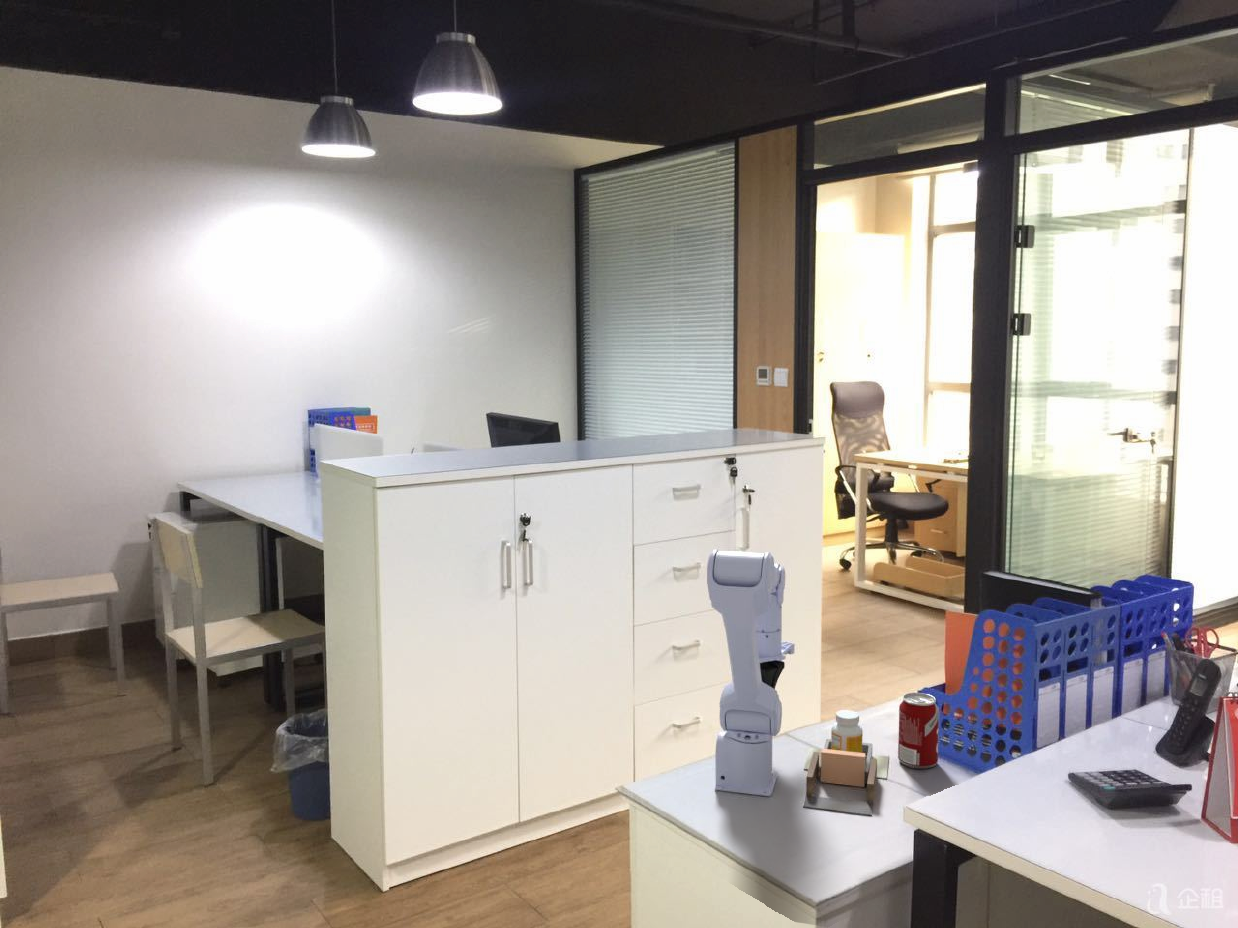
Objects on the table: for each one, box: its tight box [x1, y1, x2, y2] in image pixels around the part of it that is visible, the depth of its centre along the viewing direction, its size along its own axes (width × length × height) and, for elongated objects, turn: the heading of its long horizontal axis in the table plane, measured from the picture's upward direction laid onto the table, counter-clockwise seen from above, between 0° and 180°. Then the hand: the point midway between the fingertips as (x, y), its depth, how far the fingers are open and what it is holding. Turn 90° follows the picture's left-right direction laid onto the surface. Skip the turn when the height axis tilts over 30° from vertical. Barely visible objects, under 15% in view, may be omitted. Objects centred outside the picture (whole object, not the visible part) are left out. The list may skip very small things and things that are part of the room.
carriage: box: [818, 738, 873, 788], centre depth 178 cm, size 8×14×5 cm, turn 163°
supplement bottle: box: [830, 709, 864, 753], centre depth 179 cm, size 5×5×10 cm
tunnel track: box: [802, 747, 890, 817], centre depth 174 cm, size 14×23×4 cm, turn 163°
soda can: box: [897, 692, 940, 770], centre depth 180 cm, size 7×7×12 cm
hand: (765, 699), depth 186 cm, fingers closed
